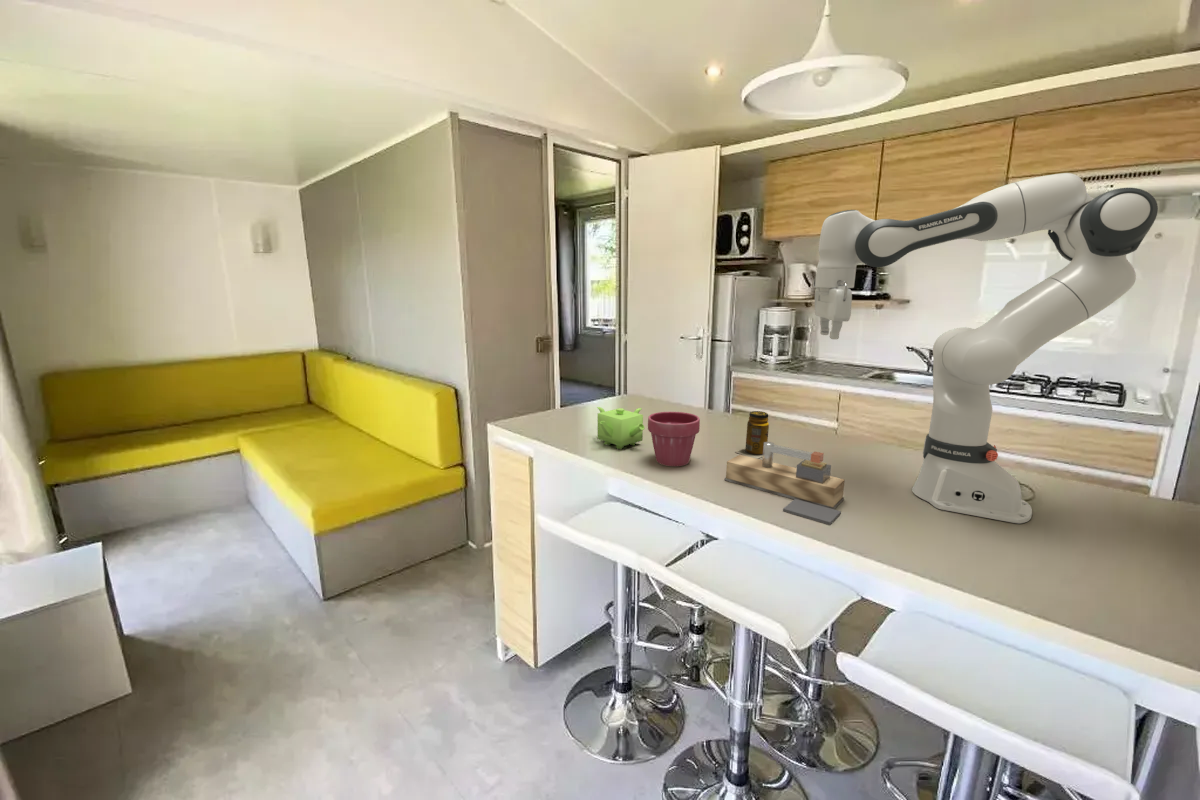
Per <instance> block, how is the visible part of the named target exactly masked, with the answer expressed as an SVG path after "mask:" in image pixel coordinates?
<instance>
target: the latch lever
mask: <svg viewBox="0 0 1200 800" xmlns="http://www.w3.org/2000/svg"><path fill="white" fill-rule="evenodd" d="M774 454H779V455H783V456H787V457H791V458H796V459H801V460H809V461H811V462H815V463H821V462H823V461H824V456H825V455H824V452H821V451H820V452H819V451H813V452H811V451H807V450H806V451H805V450H801V449H796V448H794V447H793V448H792V447H787V446H782V445H778V444H775V443H774V442H772V441H768V442H764V447H763V457H762V459H761V460H762V466H763V467H767V468H770V467H772V464H773V463H774V461H773V460H774Z"/></svg>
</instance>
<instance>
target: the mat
mask: <svg viewBox="0 0 1200 800" xmlns="http://www.w3.org/2000/svg"><path fill="white" fill-rule="evenodd" d="M782 512H784V513H788V514H791V515H794V516H798V517H802V518H805V519H809V520H811V521H816V522H818V523H821V522H822V523H823V524H825V525H829V526H831V525H832V524H833V523H834V522H835V521H836V519H838V518H839V516H840V515H841V513H842V511H841V510H838V509H836V508H835V509H831V508H827V507H824V506H820V505H816V504H813V503H809V502H805V501H802V500H798V499H792V500H791V501H790V502H789V503H788V504H787V505H785V506H784V507H783V508H782ZM832 522H833V523H832Z"/></svg>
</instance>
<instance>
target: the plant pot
mask: <svg viewBox="0 0 1200 800" xmlns="http://www.w3.org/2000/svg"><path fill="white" fill-rule="evenodd" d="M700 419H701V418H700V417H699V416H698V415H695V414H694V413H689V412H682V411H659V412H655V413H651V414H650V415H649V416H648V417H647V430H648V432H649V433H650V434H651V436H650V437H651V440H652V446H653V452H654V455H655V460H656V462H657V463H658V464H660V465H662V466H667V467H682V466H686V465H688V464H689V463H690V459H691V455H692V451H693V447H694V444H695V439H696V436H697V434H698V433H699V432H700V430H701V429H700V427H701V426H700V425H701V423H700V421H701V420H700Z"/></svg>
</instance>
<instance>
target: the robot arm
mask: <svg viewBox="0 0 1200 800" xmlns="http://www.w3.org/2000/svg"><path fill="white" fill-rule="evenodd" d="M1158 209H1159V207H1158V202H1157V199H1156V198H1155V197H1154V196H1153V195H1152V194H1151V193H1150V192H1148V191H1146V190H1143V189H1141V188H1137V187H1136V188H1135V187H1120V188H1119V187H1118V188H1116V189H1115V188H1114V189H1111V190H1109V191H1106V192H1103V193H1101V194H1099V195H1097V196H1096V197H1092V196H1091V195H1090V194H1089V192H1088V191H1087V186H1086V185H1085V182H1084V181H1083V179H1082V178H1081V177H1080V176H1079V175H1077V174H1074V173H1071V172H1063V173H1055V174H1047V175H1042V176H1041V175H1040V176H1035V177H1031V178H1028V179H1023V180H1020V181H1016V182H1015V181H1014V182H1012V183H1008V184H1005V185H1002V186H999V187H997V188H994V189H992V190H988V191H986V192H984V193H981V194H979V195H976V196H975V197H973V198H972V199H969V200H968V201H967V202H965V203H963V204H962V205H960V206H959V205H958V206H957V207H954V208H952V209H948V210H944V211H940V212H938V213H933V214H929V215H926V216H922V217H918V218H914V219H909V220H900V219H894V218H893V219H892V218H881V219H877V220H875V219H872V218H870V217H868V216H866V215H864V214H863V213H861V212H860V210H858V209H847V210H842V211H837V212H834V213H832V214H830V215H828V216H827V217H826V218H825V219H824V221H823V223H822V225H821V228H820V229H821V230H820V235H819V236H820V237H819V242H818V255H819V260H818V263H817V266H816V271H815V272H816V273H815V277H814V279H813V285H812V286H813V288H814V289H815V290H814V291H815V292H814V315H815V316H817V317H819V325H820V327H819V328H820V331H819V332H820V333H819V334H820V335H822V336H828V335H829V339H830V340H839V338H840V332H841V330H842V328H843V323H844V322H849V321H850V318H851V316H852V315H851V314H852V305H853V303H852V302H853V294H852V293H853V292H852V290H851V289H854V288H855V281H856V274H857V273H856V272H857V266H858V265H859V264H864V265H866V266H869V267H872V268H884V267H887V266H890V265H892V264H894V263H896V262H897V261H899V260H900V259H902V258H903V257H904V256H906V255H907V254H909V253H911V252H913V251H916V250H919V249H922V248H927V247H931V246H935V245H938V244H944V243H946V242H950V241H951V242H952V241H955V240H974V241H979V242H984V241H985V242H988V241H989V242H990V241H995V240H996V241H999V240H1003V239H1004V240H1005V239H1009V238H1014V237H1015V238H1016V237H1018V236H1023V235H1026V234H1030V233H1033V232H1039V231H1046V230H1047V236H1049V237H1048V238H1049V239H1051V241H1052V242H1053V244H1054V246H1055V248H1056V250H1057V251H1058V253H1059V255H1061V257H1063V258H1064V259H1065V260H1067V261H1069V263H1068V264H1067V265H1066V266H1064V267H1063V268H1062V269H1060V270H1058V271H1057V272H1055V273H1054V274H1052V275H1050V276H1048V277H1047V278H1045V279H1043V280H1042V281H1040V282H1038V283H1037V284H1035V285H1033V286H1032V287H1030V288H1029V289H1027V290H1026V291H1024V292H1022V293H1021V294H1019V295H1017V296H1016V297H1014V298H1012V299H1011V300H1009V301H1008V302H1006V303H1005V305H1004V307H1003V308H1002V309H1001V310H1000V311H998V312H997V313H996V314H995V315H994V316H992V318H990V319H989V320H988V321H986V322H985V323H984V324H982V325H980V326H978V327H976V328H972V327H967V326H965V327H957V328H952V329H949V330H947V331H945V332H944V333H943V332H942V334H941V335H939V336H938V337H937V338H936V340H935V341H934V343H933V345H932V346H933V347H932V357H933V366H932V369H933V370H932V385H933V386H932V389H933V391H932V392H933V394H932V395H933V398H932V399H933V402H932V409H931V417H930V422H929V423H930V424H929V429H928V433H927V434H926V436H925V439H924V444H923V451H922V454H923V455H922V457H923V460H922V464H921V468H920V471H919V473H918V476H917V479H916V480H915V483H914V485H913V486H912V487H911V491H912V493H913V494H914V495H915V496H916V497H918V498H919V499H922V500H923V501H926V502H928V503H929V504H931V506H933V507H934V508H935V509H939V510H942V511H948V512H953V513H959V514H965V515H971V516H975V517H980V518H987V519H992V520H996V521H1002V522H1007V523H1013V524H1024V523H1027V522H1029V521H1030V520H1031V519H1032V515H1033V510H1032V508H1033V507H1032V506H1031V505H1030V504H1029V503H1028V502H1027V501H1025V500H1024V499H1022V490H1021V486H1020V482H1019V481H1018V480H1017V479H1016V478H1015V476H1013V475H1012V474H1011V473H1009V471H1008V470H1006V469H1005V468H1004V467H1002V466H1001V465H1000V464H999V463H998V462H997V460H998V458H999V453H998V449H997V447H996V446H997V445H995V444H993V445H992V444H991V443H989V442H988V439H989V438H988V437H989V432H990V427H991V420H992V417H993V415H992V414H993V406H992V405H993V404H992V401H991V393H990V385H997V384H1000V383H1002V382H1004V381H1007V379H1009V378H1010V377H1012V375H1013V374H1014V372H1015V371H1016V370H1017V367H1018V366H1020V365H1021V364H1022V363H1023V362H1024V361H1025V360H1026V359H1028V358H1029V357H1030V356H1031V355H1032V354H1034V353H1035V352H1036V351H1038V350H1039V349H1040V348H1042V346H1044V345H1045V344H1047V343H1049V342H1050V341H1052V340H1054V339H1055V338H1057V337H1059V336H1061V335H1063V334H1064V333H1066V332H1067V331H1069V330H1072V329H1073V328H1075V327H1077V326H1078V325H1080V324H1081V323H1083V322H1085V321H1087V320H1088V319H1090V318H1091V317H1093V316H1095V315H1097V314H1098V313H1100V312H1101V311H1103V310H1105V309H1106V308H1107V307H1109V306H1110V305H1112V304H1113V303H1115V302H1116V301H1117V300H1119V299H1120V298H1121V297H1122V296H1124V295H1125V294H1126V293H1127V292H1128V291H1130V289H1133V286H1134V285H1135V282H1136V280H1137V278H1136V277H1137V274H1136V271H1135V268H1134V266H1133V265H1132V264H1131V263H1130V261H1129V260H1128V257H1127V255H1128V254H1130V253H1134V252H1136V251H1137V250H1138V248H1139V246H1141V244H1142V242H1143V240H1144V239H1145V237H1146V236H1147V234H1148V232H1150V230H1151V228H1152V226H1153V225H1154V223H1155V221H1156V219H1157V216H1158V211H1159V210H1158ZM830 321H831V329H830V328H829V326H830V324H829V323H830Z"/></svg>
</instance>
